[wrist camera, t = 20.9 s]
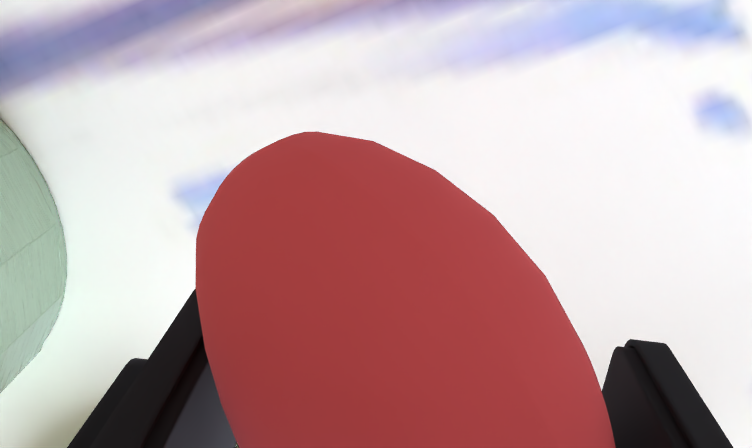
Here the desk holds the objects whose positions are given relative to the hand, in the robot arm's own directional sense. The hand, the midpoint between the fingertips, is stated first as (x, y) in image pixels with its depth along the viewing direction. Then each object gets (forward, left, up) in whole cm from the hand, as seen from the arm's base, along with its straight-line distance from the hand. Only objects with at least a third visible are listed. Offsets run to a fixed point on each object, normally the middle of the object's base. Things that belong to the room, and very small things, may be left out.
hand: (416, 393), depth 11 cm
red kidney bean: (0, 0, -1) cm, 1 cm away
